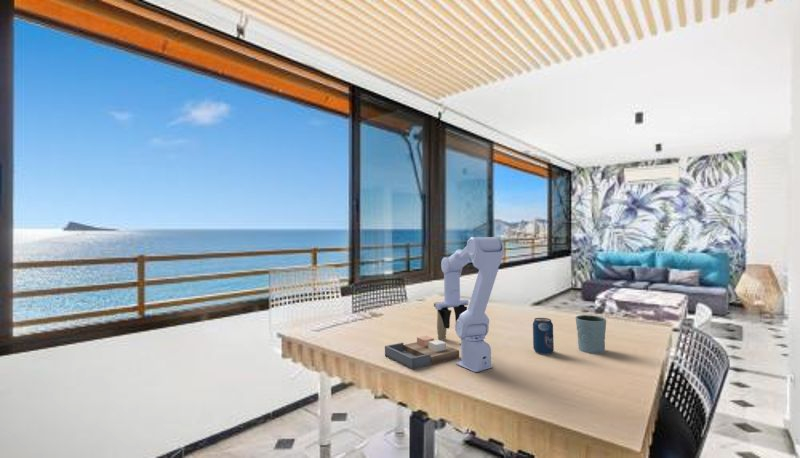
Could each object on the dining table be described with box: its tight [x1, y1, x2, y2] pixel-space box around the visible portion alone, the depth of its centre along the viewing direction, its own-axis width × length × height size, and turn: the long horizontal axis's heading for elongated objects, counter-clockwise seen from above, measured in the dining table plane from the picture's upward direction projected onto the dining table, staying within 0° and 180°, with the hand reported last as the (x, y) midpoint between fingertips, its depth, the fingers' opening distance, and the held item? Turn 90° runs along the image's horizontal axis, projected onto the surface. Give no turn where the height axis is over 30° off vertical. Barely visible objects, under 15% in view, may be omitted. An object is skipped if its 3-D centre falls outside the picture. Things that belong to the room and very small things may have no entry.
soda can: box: [532, 317, 555, 356], centre depth 133 cm, size 7×7×12 cm
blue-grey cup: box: [575, 314, 607, 355], centre depth 134 cm, size 10×10×12 cm
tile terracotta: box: [416, 335, 435, 347], centre depth 136 cm, size 4×4×2 cm
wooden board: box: [404, 341, 460, 365], centre depth 132 cm, size 17×12×2 cm
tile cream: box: [428, 339, 447, 352], centre depth 130 cm, size 4×4×2 cm
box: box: [384, 342, 433, 370], centre depth 126 cm, size 17×8×4 cm, turn 33°
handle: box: [433, 301, 447, 341], centre depth 152 cm, size 5×6×15 cm
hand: (452, 326), depth 134 cm, fingers open, 5 cm apart
